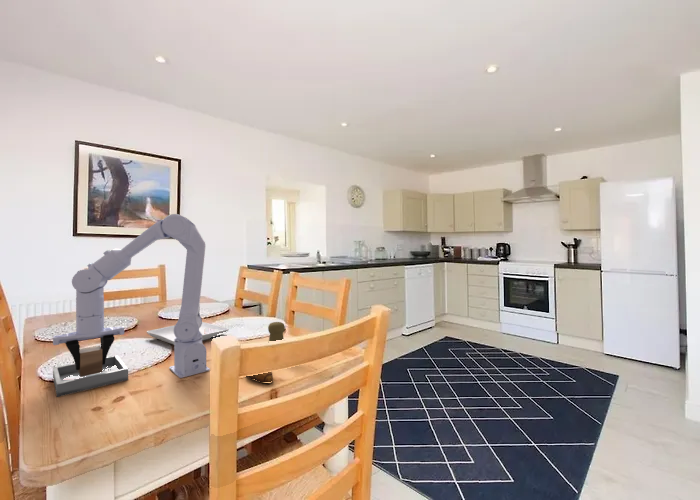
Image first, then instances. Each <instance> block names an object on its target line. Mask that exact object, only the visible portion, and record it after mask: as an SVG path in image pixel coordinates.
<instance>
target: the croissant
mask: <svg viewBox="0 0 700 500" xmlns="http://www.w3.org/2000/svg"><path fill="white" fill-rule="evenodd" d="M247 378H248V379H249V380H252V379H255V380H257V381H260V382H271V381H273V380H274V378H273V372H272V371H271V372H268V373H263V374H258V375H253V376H248V377H247ZM255 380H254V381H255ZM257 381H256V382H257ZM260 382H259V383H260Z"/></svg>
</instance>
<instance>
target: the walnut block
mask: <svg viewBox="0 0 700 500" xmlns="http://www.w3.org/2000/svg"><path fill="white" fill-rule="evenodd" d="M79 360H80V370H78V372H79V374H80V377H82V376H87V375H91V374H96V373H100V372H102V348H101V344H100V345H95V346H89V347H88V346H87V347H83V348H80V350H79Z"/></svg>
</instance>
